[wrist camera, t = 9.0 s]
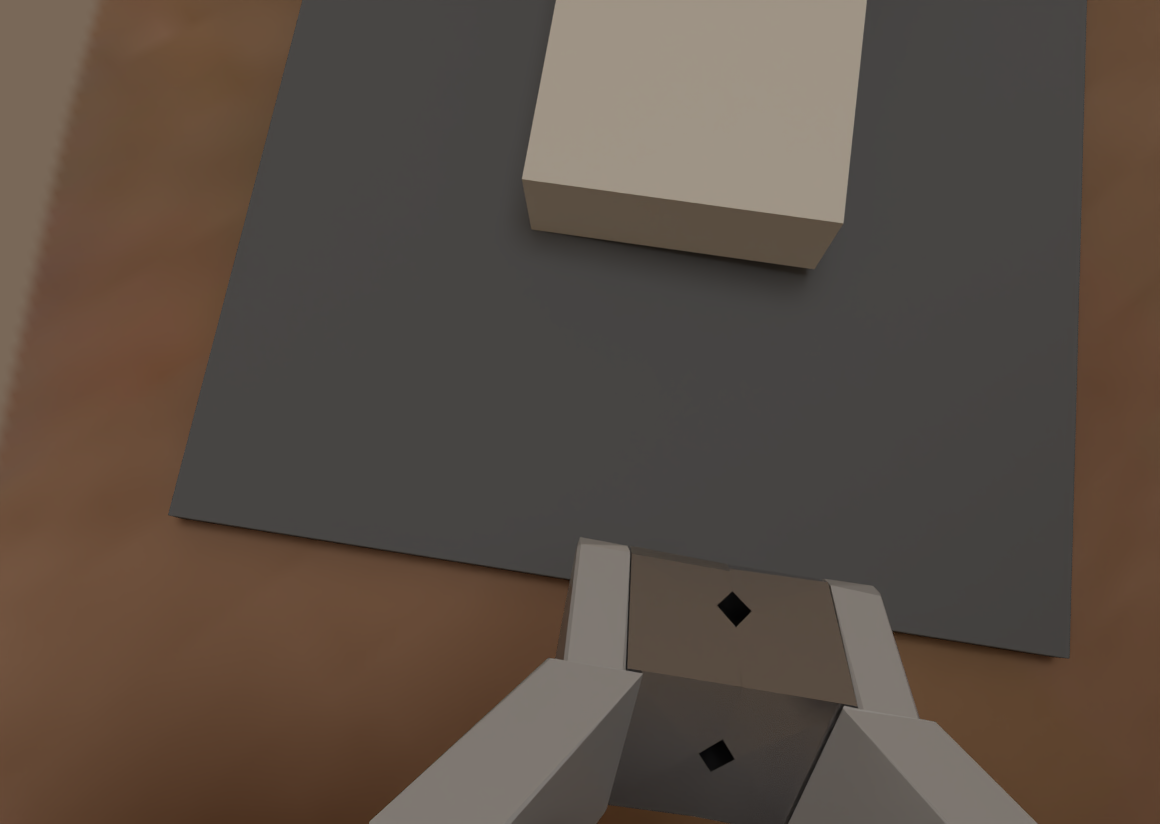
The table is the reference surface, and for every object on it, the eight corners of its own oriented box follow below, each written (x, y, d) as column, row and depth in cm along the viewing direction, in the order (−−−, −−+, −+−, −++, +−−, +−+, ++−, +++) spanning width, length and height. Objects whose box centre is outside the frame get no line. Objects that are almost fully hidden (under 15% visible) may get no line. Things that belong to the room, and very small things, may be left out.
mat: (1078, -170, 24) (1091, -190, 23) (1052, 656, 19) (1069, 658, 18) (388, -291, 24) (384, -314, 23) (179, 517, 19) (168, 515, 18)
